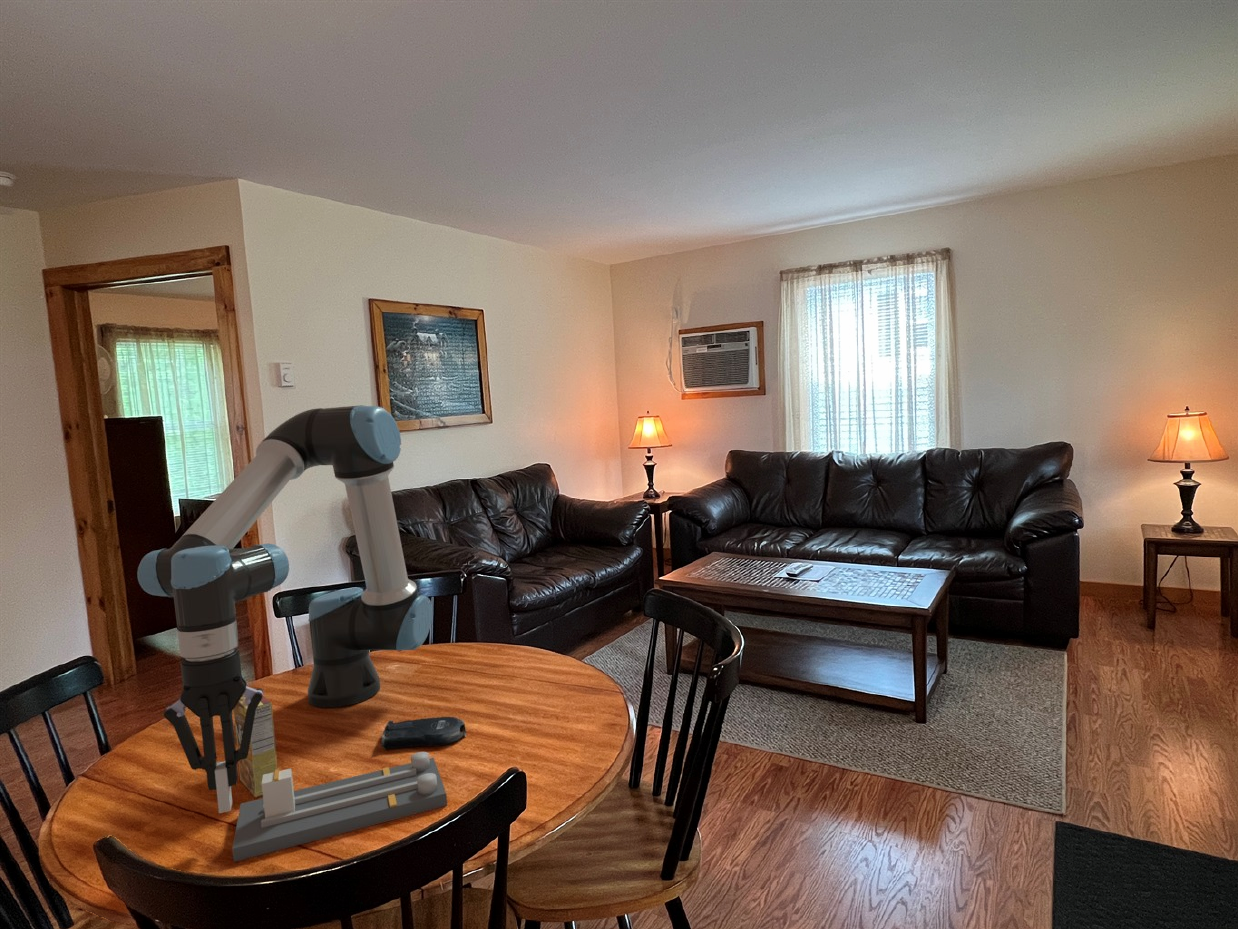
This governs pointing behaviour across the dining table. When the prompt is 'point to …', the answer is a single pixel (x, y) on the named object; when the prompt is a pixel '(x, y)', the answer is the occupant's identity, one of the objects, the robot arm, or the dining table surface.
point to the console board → (341, 807)
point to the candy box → (256, 745)
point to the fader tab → (278, 793)
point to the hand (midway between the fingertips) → (225, 807)
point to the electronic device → (423, 732)
